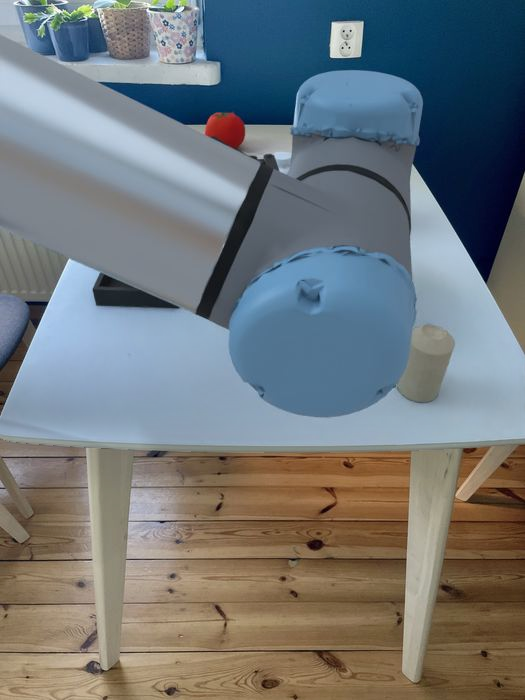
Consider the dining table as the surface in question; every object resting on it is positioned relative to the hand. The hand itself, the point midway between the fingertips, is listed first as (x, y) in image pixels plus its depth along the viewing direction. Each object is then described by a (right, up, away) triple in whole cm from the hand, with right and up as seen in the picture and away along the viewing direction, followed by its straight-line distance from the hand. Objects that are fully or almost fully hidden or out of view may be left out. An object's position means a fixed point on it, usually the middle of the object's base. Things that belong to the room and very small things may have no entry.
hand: (159, 160), depth 60 cm
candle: (+32, -26, +12) cm, 44 cm away
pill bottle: (+15, +11, +53) cm, 56 cm away
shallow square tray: (-8, -10, +29) cm, 32 cm away
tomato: (+2, +28, +72) cm, 77 cm away
